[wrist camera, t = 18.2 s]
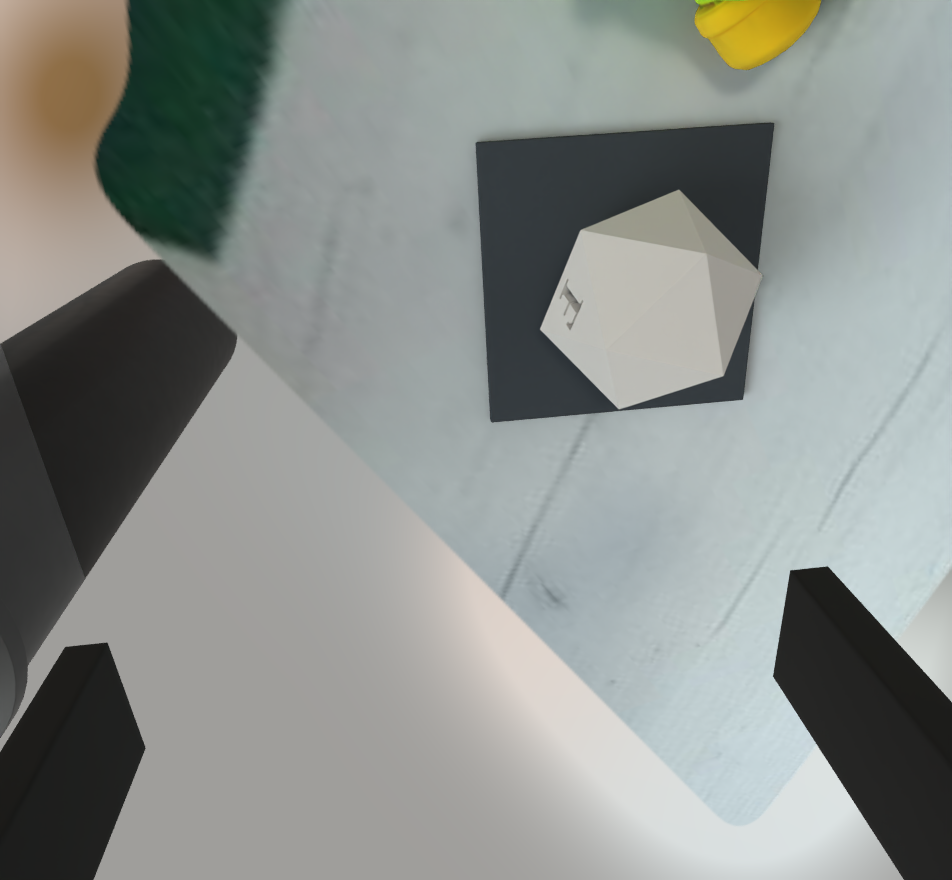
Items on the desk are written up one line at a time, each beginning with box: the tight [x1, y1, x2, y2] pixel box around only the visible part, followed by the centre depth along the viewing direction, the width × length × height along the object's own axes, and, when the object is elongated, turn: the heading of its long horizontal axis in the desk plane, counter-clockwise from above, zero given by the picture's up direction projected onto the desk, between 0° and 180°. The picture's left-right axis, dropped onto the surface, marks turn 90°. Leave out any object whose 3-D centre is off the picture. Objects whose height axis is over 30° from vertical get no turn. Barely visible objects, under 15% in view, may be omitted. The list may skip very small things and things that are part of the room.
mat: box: [476, 123, 774, 422], centre depth 36 cm, size 14×14×1 cm
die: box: [540, 190, 763, 409], centre depth 32 cm, size 8×9×10 cm
